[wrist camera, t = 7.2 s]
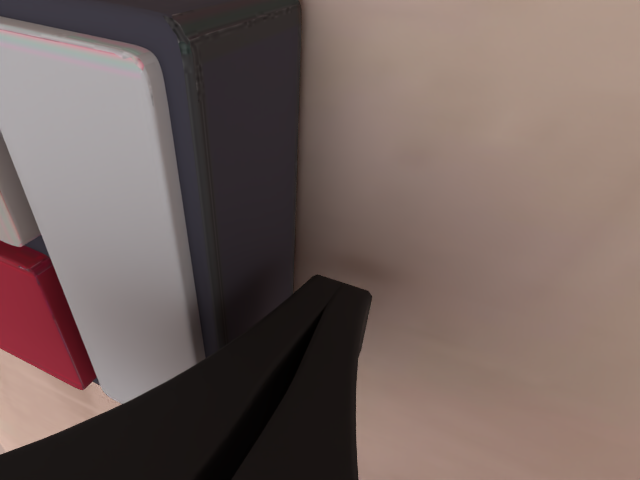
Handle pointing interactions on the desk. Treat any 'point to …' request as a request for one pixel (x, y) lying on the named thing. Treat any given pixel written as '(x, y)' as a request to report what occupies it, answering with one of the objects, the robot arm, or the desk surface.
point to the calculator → (144, 181)
